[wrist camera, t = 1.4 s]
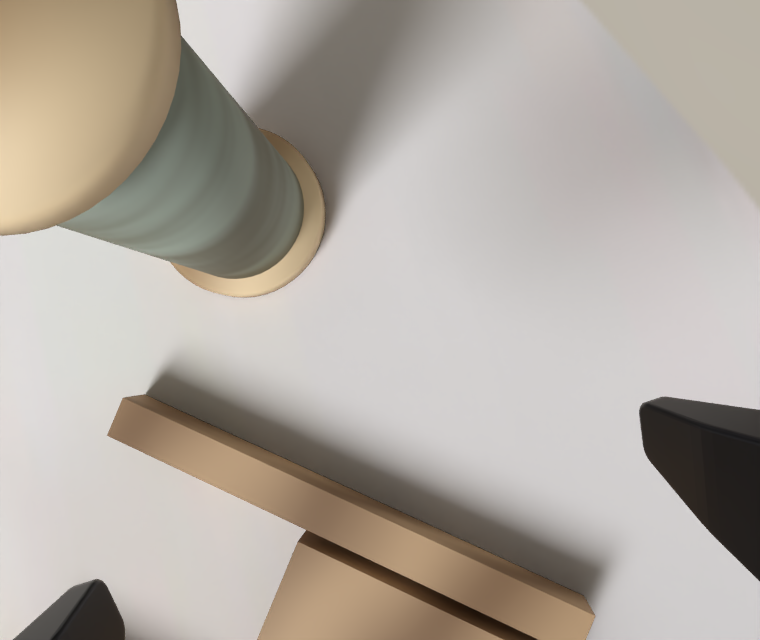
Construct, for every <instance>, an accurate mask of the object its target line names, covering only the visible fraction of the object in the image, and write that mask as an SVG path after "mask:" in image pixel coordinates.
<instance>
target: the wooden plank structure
mask: <svg viewBox="0 0 760 640" xmlns="http://www.w3.org/2000/svg"><path fill="white" fill-rule="evenodd" d="M107 436H109V437H111V438H113V439H116V440H118V441H120V442H122V443H124V444H126V445H128V446H130V447H132V448H135V449H137V450H139V451H141V452H143V453H145V454H147V455H149V456H151V457H154V458H156V459H158V460H160V461H162V462H164V463H166V464H168V465H170V466H173V467H175V468H177V469H179V470H181V471H183V472H185V473H187V474H189V475H192V476H194V477H196V478H198V479H200V480H202V481H204V482H206V483H208V484H211V485H213V486H215V487H217V488H219V489H221V490H223V491H225V492H227V493H230V494H232V495H234V496H236V497H238V498H240V499H242V500H244V501H247V502H249V503H251V504H253V505H255V506H257V507H259V508H261V509H263V510H266V511H268V512H270V513H272V514H274V515H276V516H278V517H280V518H282V519H285V520H287V521H289V522H291V523H293V524H295V525H297V526H299V527H301V528H304V529H306V531H305V533H304V534H303V535H302V537H301V538H300V539H299V541H298V543H297V545H296V547H295V550H294V552H293V555H292V557H291V559H290V562H289V564H288V567H287V569H286V571H285V574H284V576H283V579H282V581H281V583H280V586H279V588H278V591H277V593H276V595H275V598H274V600H273V603H272V605H271V607H270V610H269V612H268V615H267V617H266V620H265V622H264V624H263V627H262V629H261V632H260V634H259V636H258V639H257V640H586V638H587V635H588V633H589V630H590V628H591V625H592V623H593V621H594V618H595V614H594V613H593V611H592V609H591V607H590V606H589V604H588V602H587V600H586V599H585V597H584V596H583V595H581V594H579V593H577V592H574V591H572V590H570V589H568V588H566V587H564V586H561V585H559V584H557V583H555V582H553V581H550V580H548V579H546V578H544V577H542V576H540V575H537V574H535V573H533V572H531V571H529V570H526V569H524V568H522V567H520V566H518V565H516V564H513V563H511V562H509V561H507V560H505V559H502V558H500V557H498V556H496V555H494V554H492V553H489V552H487V551H485V550H483V549H481V548H478V547H476V546H474V545H472V544H470V543H468V542H465V541H463V540H461V539H459V538H457V537H454V536H452V535H450V534H448V533H446V532H444V531H441V530H439V529H437V528H435V527H433V526H431V525H428V524H426V523H424V522H422V521H420V520H417V519H415V518H413V517H411V516H409V515H407V514H404V513H402V512H400V511H398V510H396V509H393V508H391V507H389V506H387V505H385V504H383V503H380V502H378V501H376V500H374V499H372V498H369V497H367V496H365V495H363V494H361V493H359V492H356V491H354V490H352V489H350V488H348V487H345V486H343V485H341V484H339V483H337V482H335V481H332V480H330V479H328V478H326V477H324V476H321V475H319V474H317V473H315V472H313V471H311V470H308V469H306V468H304V467H302V466H300V465H297V464H295V463H293V462H291V461H289V460H287V459H284V458H282V457H280V456H278V455H276V454H273V453H271V452H269V451H267V450H265V449H263V448H260V447H258V446H256V445H254V444H252V443H249V442H247V441H245V440H243V439H241V438H239V437H236V436H234V435H232V434H230V433H228V432H225V431H223V430H221V429H219V428H217V427H215V426H212V425H210V424H208V423H206V422H204V421H201V420H199V419H197V418H195V417H193V416H191V415H188V414H186V413H184V412H182V411H180V410H177V409H175V408H173V407H171V406H169V405H167V404H164V403H162V402H160V401H158V400H156V399H153V398H151V397H149V396H147V395H145V394H144V395H138V396H131V397H125V398H123V399H122V401H121V404H120V406H119V408H118V411H117V413H116V416H115V418H114V420H113V423H112V425H111V428H110V430H109V432H108V435H107Z"/></svg>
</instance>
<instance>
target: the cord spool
mask: <svg viewBox="0 0 760 640" xmlns="http://www.w3.org/2000/svg"><path fill="white" fill-rule="evenodd" d="M325 216H326V212H325V201H324V196H323V192H322V189H321V186H320V183H319V181H318V179H317V177H316V175H315V173H314V172H313V170H312V169H311V167H310V166H309V164H308V163H307V161H306V160H305V159H304V157H303V156H302V155H301V154H300V153H299V152H298V150H297V149H296V148H295V147H293V146H292V145H291V144H290V143H289V142H288V141H286V140H284V139H283V138H281V137H280V136H278V135H276V134H274V133H272V132H269V131H266V130H263V129H260V128H258V127H257V126H256V125H255V124H254V122H253V121H252V120H251V119H250V118H249V116H248V115H247V114H246V113H245V112H244V110H243V109H242V108H241V107H240V106H239V104H238V103H237V102H236V101H235V100H234V98H233V97H232V96H231V95H230V94H229V92H228V91H227V90H226V89H225V88H224V86H223V85H222V84H221V83H220V82H219V80H218V79H217V78H216V77H215V76H214V74H213V73H212V72H211V71H210V70H209V68H208V67H207V66H206V65H205V64H204V62H203V61H202V60H201V59H200V58H199V56H198V55H197V54H196V53H195V52H194V50H193V49H192V48H191V47H190V46H189V44H188V43H187V42H186V41H185V40H184V38H183V37H182V36H181V30H180V20H179V15H178V9H177V3H176V0H0V235H2V236H4V235H15V234H26V233H30V232H34V231H39V230H43V229H47V228H50V227H53V226H55V225H57V226H60V227H63V228H66V229H69V230H72V231H76V232H79V233H82V234H85V235H88V236H91V237H94V238H98V239H101V240H104V241H107V242H110V243H113V244H116V245H119V246H123V247H126V248H129V249H132V250H135V251H138V252H141V253H145V254H148V255H151V256H154V257H157V258H160V259H163V260H166V261H170V262H171V264H172V265H173V266H174V267H175V269H176V270H177V271H178V272H179V273H180V274H181V275H183V276H184V277H185V278H186V279H187V280H189V281H190V282H192V283H193V284H195V285H197V286H199V287H201V288H203V289H205V290H208V291H211V292H214V293H218V294H222V295H227V296H232V297H256V296H261V295H265V294H268V293H271V292H274V291H276V290H278V289H280V288H282V287H284V286H285V285H287V284H288V283H290V282H291V281H293V280H294V279H295V278H296V277H297V276H298V275H300V274H301V273H302V272H303V270H304V269H305V268H306V267H307V266H308V265H309V263H310V262H311V260H312V259H313V257H314V255H315V253H316V251H317V249H318V247H319V245H320V242H321V239H322V236H323V232H324V227H325Z"/></svg>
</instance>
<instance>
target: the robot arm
mask: <svg viewBox="0 0 760 640" xmlns="http://www.w3.org/2000/svg"><path fill="white" fill-rule="evenodd" d="M639 416H640V424H641V432H642V440H643V447H644V451H645V453H646V456H647V457H648V459H649V460H650V462H651V463H652V464H653V465H654V467H655V468H656V469H657V470H658V471H659V473H660V474H661V475H662V476H663V477H664V479H665V480H666V481H667V482H668V483H669V485H670V486H671V487H672V488H673V489H674V491H675V492H676V493H677V494H678V495H679V497H680V498H681V499H682V500H683V501H684V502H685V504H686V505H687V506H688V507H689V508H690V510H691V511H692V512H693V513H694V514H695V516H696V517H697V518H698V519H699V520H700V521H701V523H702V524H703V525H704V526H705V527H706V528H707V529H708V530H709V532H710V533H711V534H712V535H713V536H714V537H715V538H716V539H717V540H718V541H719V542H720V543H721V544H722V545H723V546H724V547H725V548H726V549H727V550H728V551H729V552H730V553H731V554H732V555H733V556H734V557H736V558H737V559H738V560H739V561H740V562H741V563H742V564H743V565H744V566H745V567H746V568H747V569H748V570H749V571H750V572H751V573H752V574H753V575H754V576H755V577H756V578H757V579H758V580H759V581H760V410H756V409H749V408H742V407H735V406H728V405H721V404H714V403H707V402H700V401H693V400H686V399H679V398H671V397H660V398H657V399H654V400H651V401H648V402H645V403H643V404H642V405H641V406H640V410H639ZM13 640H125V627H124V622H123V619H122V617H121V615H120V612H119V610H118V608H117V606H116V604H115V602H114V600H113V598H112V596H111V594H110V592H109V590H108V587H107V586H106V584H105V583H104V582H103V581H102V580H99V579H95V580H92V581H89V582H86V583H82V584H79V585H76V586H74V587H72V588H70V589H69V590H68V591H67V592H66V593H64V594H63V595H62V596H61V597H60V598H59V599H58V600H57V601H56V602H54V603H53V604H52V605H51V606H50V607H49V608H48V609H47V610H46V611H44V612H43V613H42V614H41V615H40V616H39V617H38V618H37V619H35V620H34V621H33V622H32V623H31V624H30V625H29V626H28V627H27V628H25V629H24V630H23V631H22V632H21V633H20V634H19V635H18V636H17V637H15V638H14V639H13Z"/></svg>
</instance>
